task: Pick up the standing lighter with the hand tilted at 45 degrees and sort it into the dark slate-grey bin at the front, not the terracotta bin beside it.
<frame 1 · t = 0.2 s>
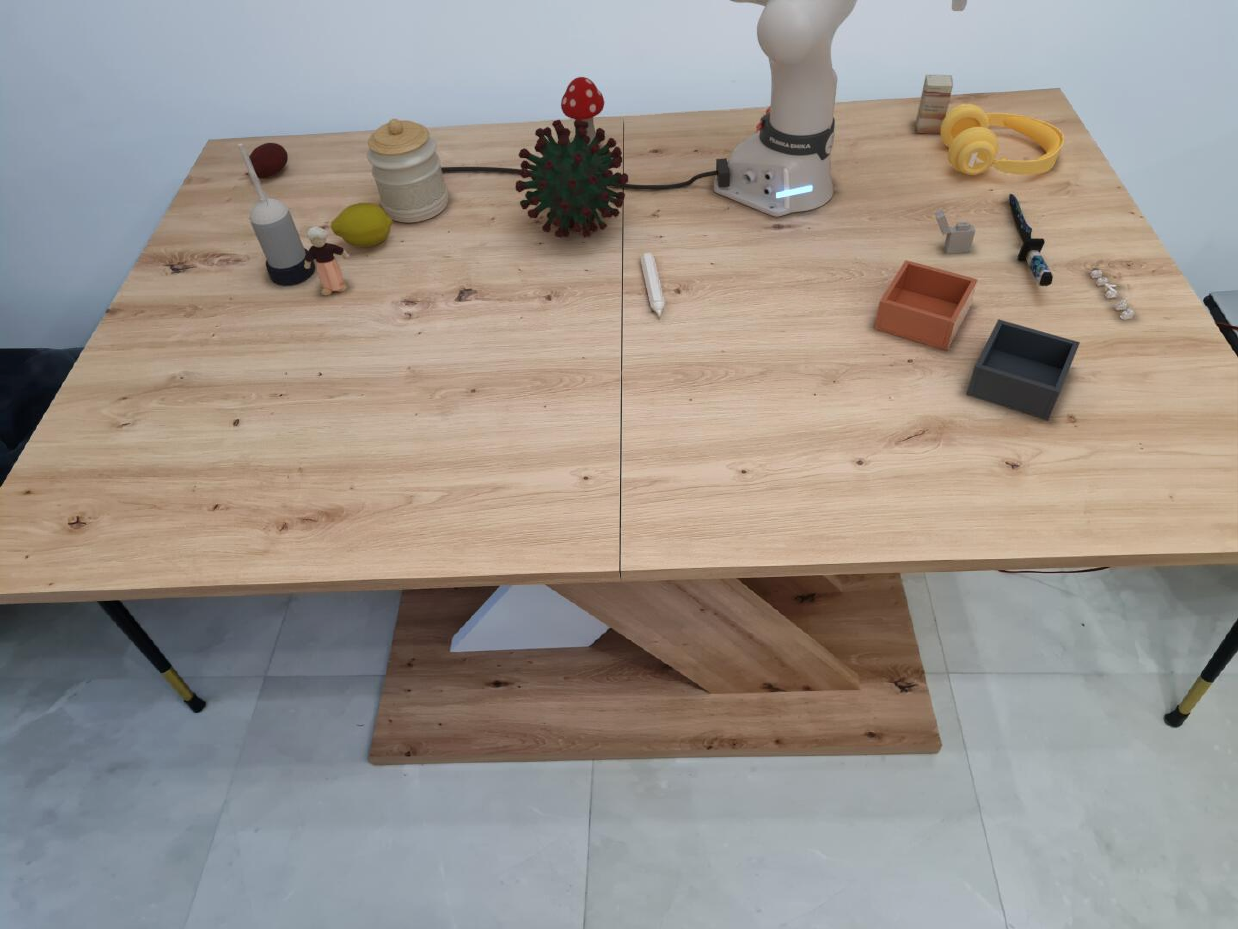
headset: (995, 159, 173), on the table
lighter: (947, 251, 155), on the table
beige brown box: (928, 129, 182), on the table
figurines set: (1113, 298, 144), on the table
jar: (416, 205, 176), on the table
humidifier: (293, 272, 164), on the table
decorative mushroom: (587, 151, 185), on the table
lemon: (369, 244, 168), on the table
grey bin: (1017, 382, 133), on the table
marker: (653, 292, 153), on the table
virus model: (577, 229, 167), on the table
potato: (272, 174, 188), on the table
knife: (1024, 249, 154), on the table
grandmother figurine: (337, 289, 160), on the table
terracotta bin: (922, 318, 144), on the table
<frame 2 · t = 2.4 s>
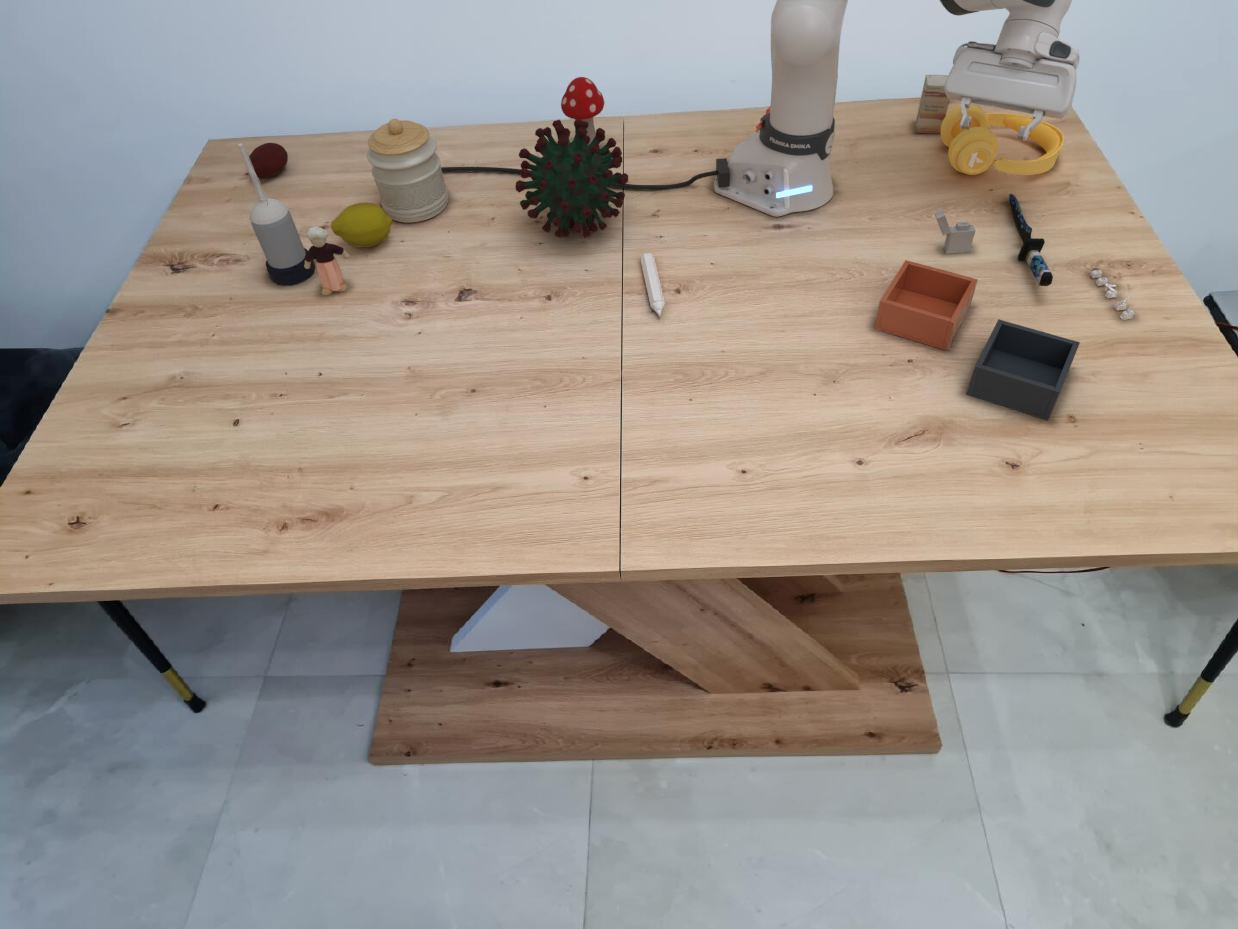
hand: (992, 133, 150), 15 cm above the table, tool tilted 45°, fingers open, 8 cm apart
nothing on the table moved.
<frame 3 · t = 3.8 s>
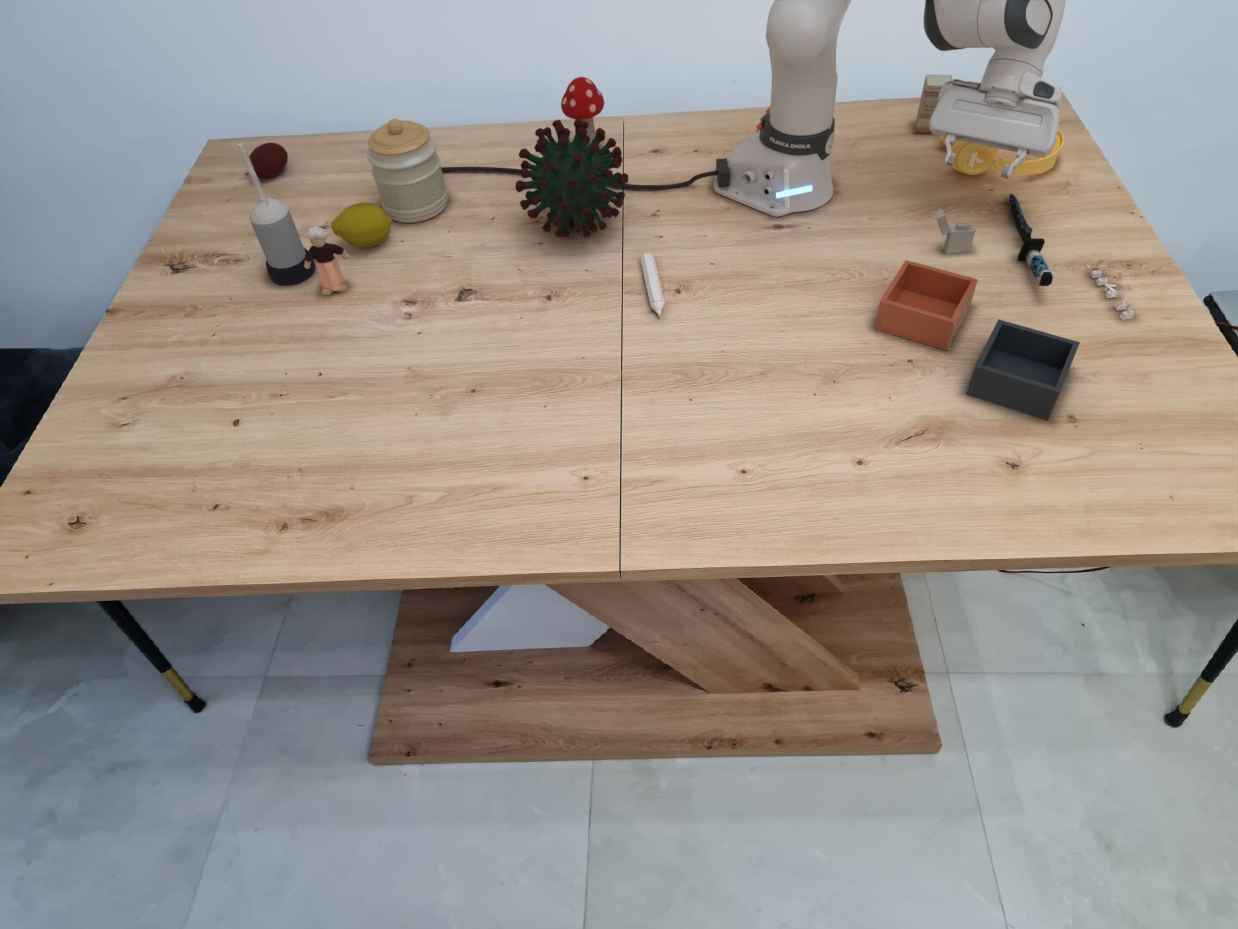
hand: (976, 170, 151), 11 cm above the table, tool tilted 45°, fingers open, 8 cm apart
nothing on the table moved.
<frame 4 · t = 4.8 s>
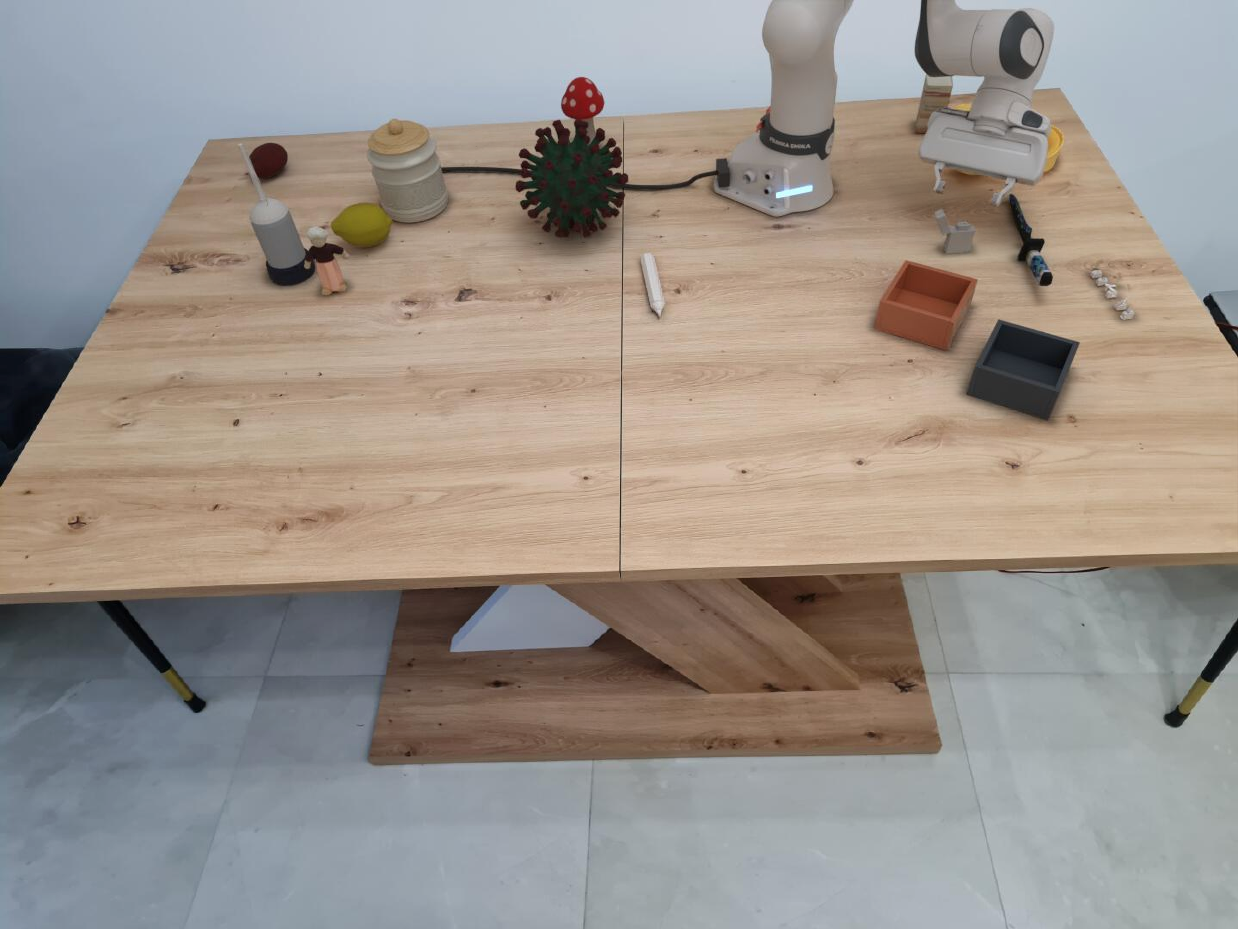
hand: (965, 198, 151), 8 cm above the table, tool tilted 45°, fingers open, 8 cm apart
nothing on the table moved.
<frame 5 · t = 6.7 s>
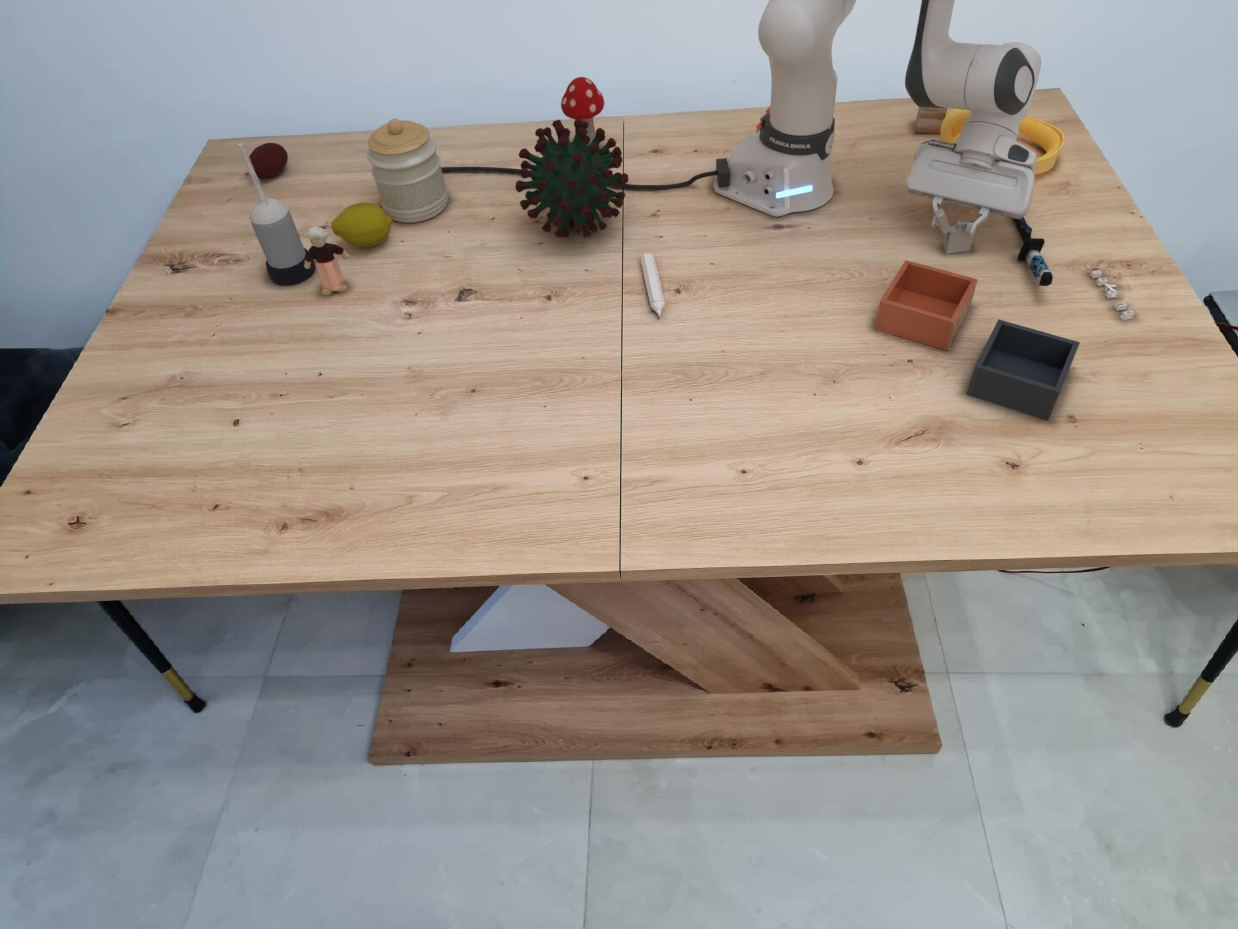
hand: (952, 230, 151), 4 cm above the table, tool tilted 45°, fingers closed on lighter, 4 cm apart
lighter: (947, 251, 155), on the table, touching gripper
everything else where it was.
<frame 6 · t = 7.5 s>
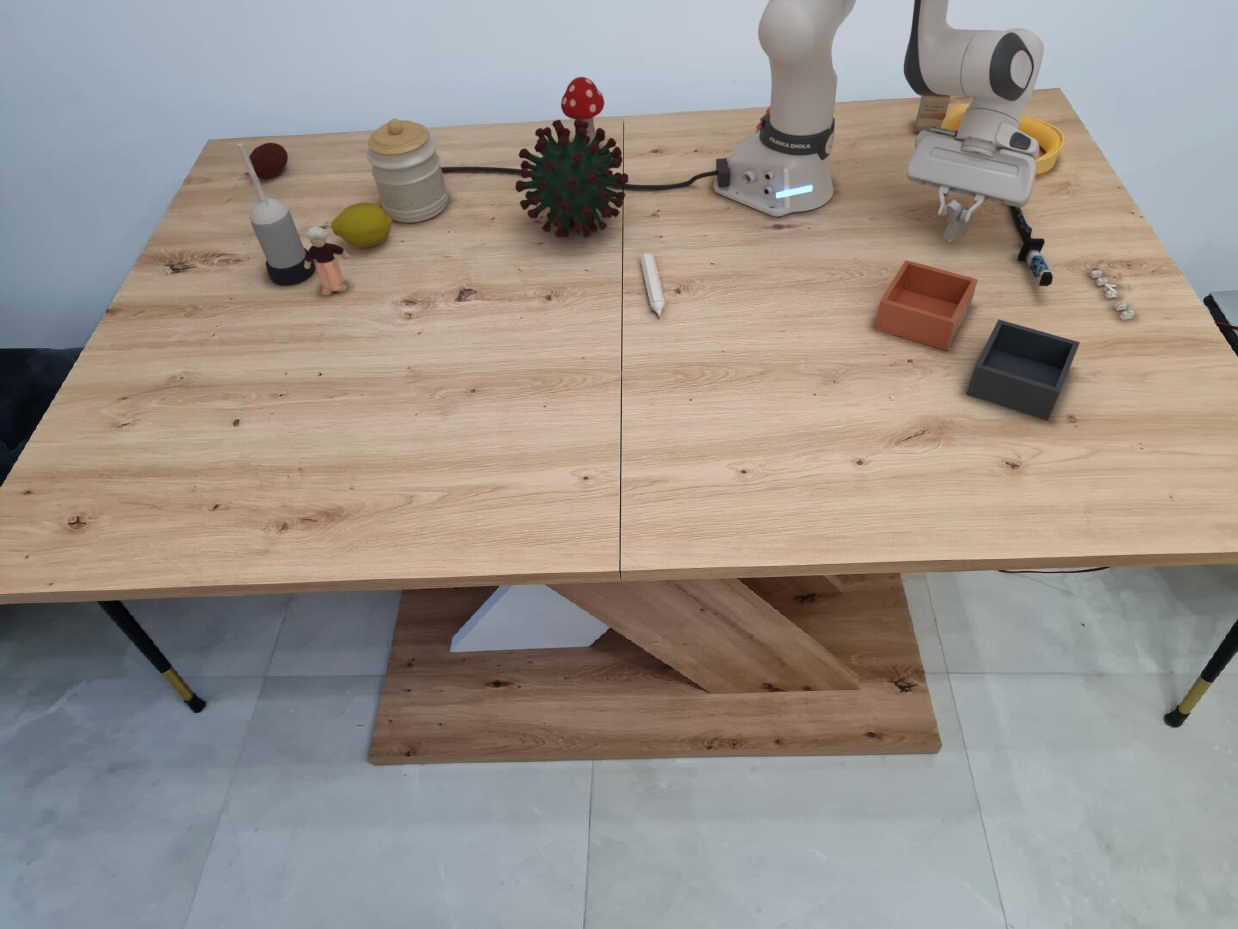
hand: (952, 219, 150), 7 cm above the table, tool tilted 45°, fingers closed on lighter, 2 cm apart
lighter: (947, 238, 155), point 2 cm above the table, touching gripper
everything else where it was.
when the fingers open (6 cm above the table, at t = 16.2 s): lighter stays where it is, resting on grey bin.
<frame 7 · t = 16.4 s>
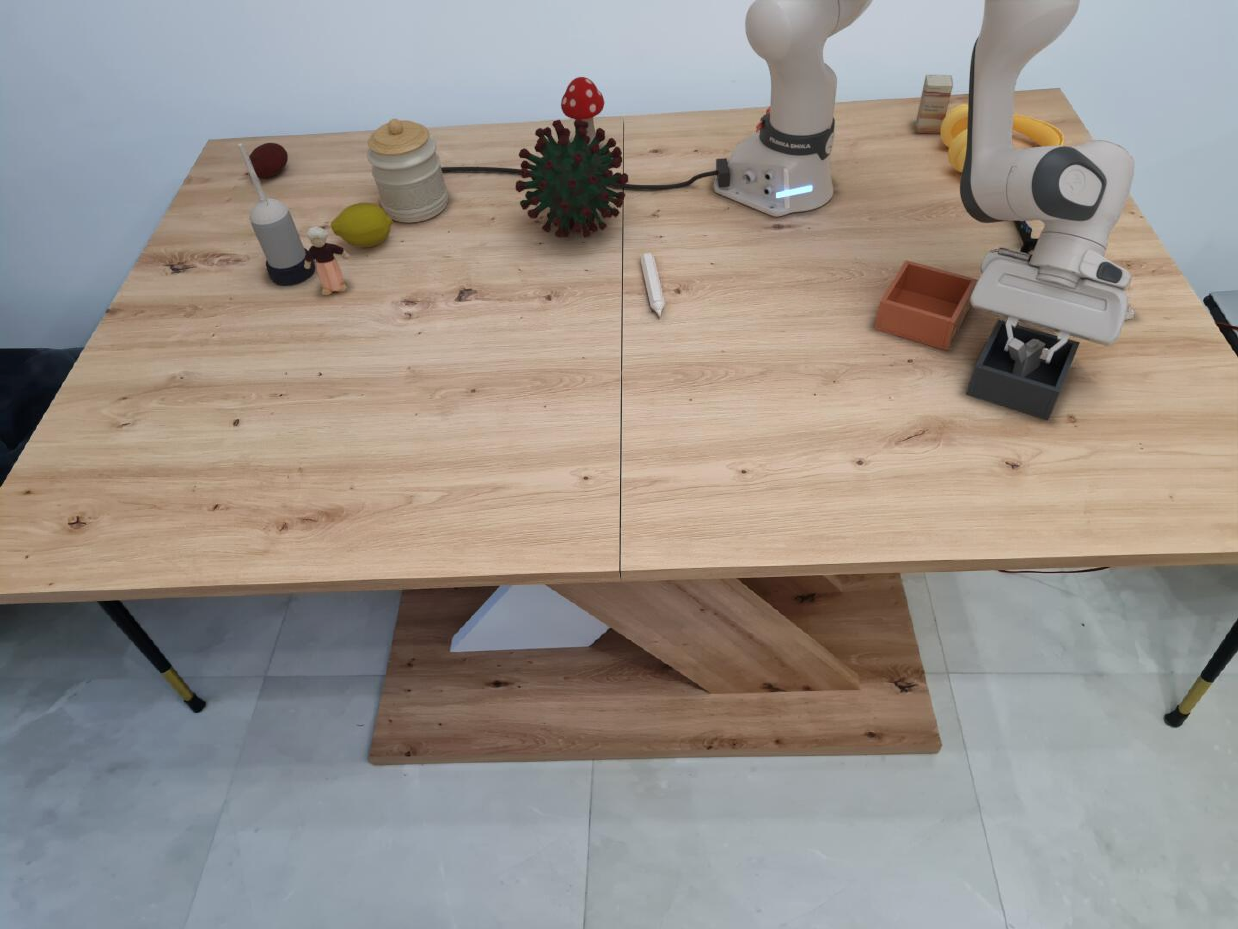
hand: (1026, 356, 128), 6 cm above the table, tool tilted 45°, fingers open, 3 cm apart
lighter: (1018, 375, 133), resting on grey bin, touching gripper
everything else where it was.
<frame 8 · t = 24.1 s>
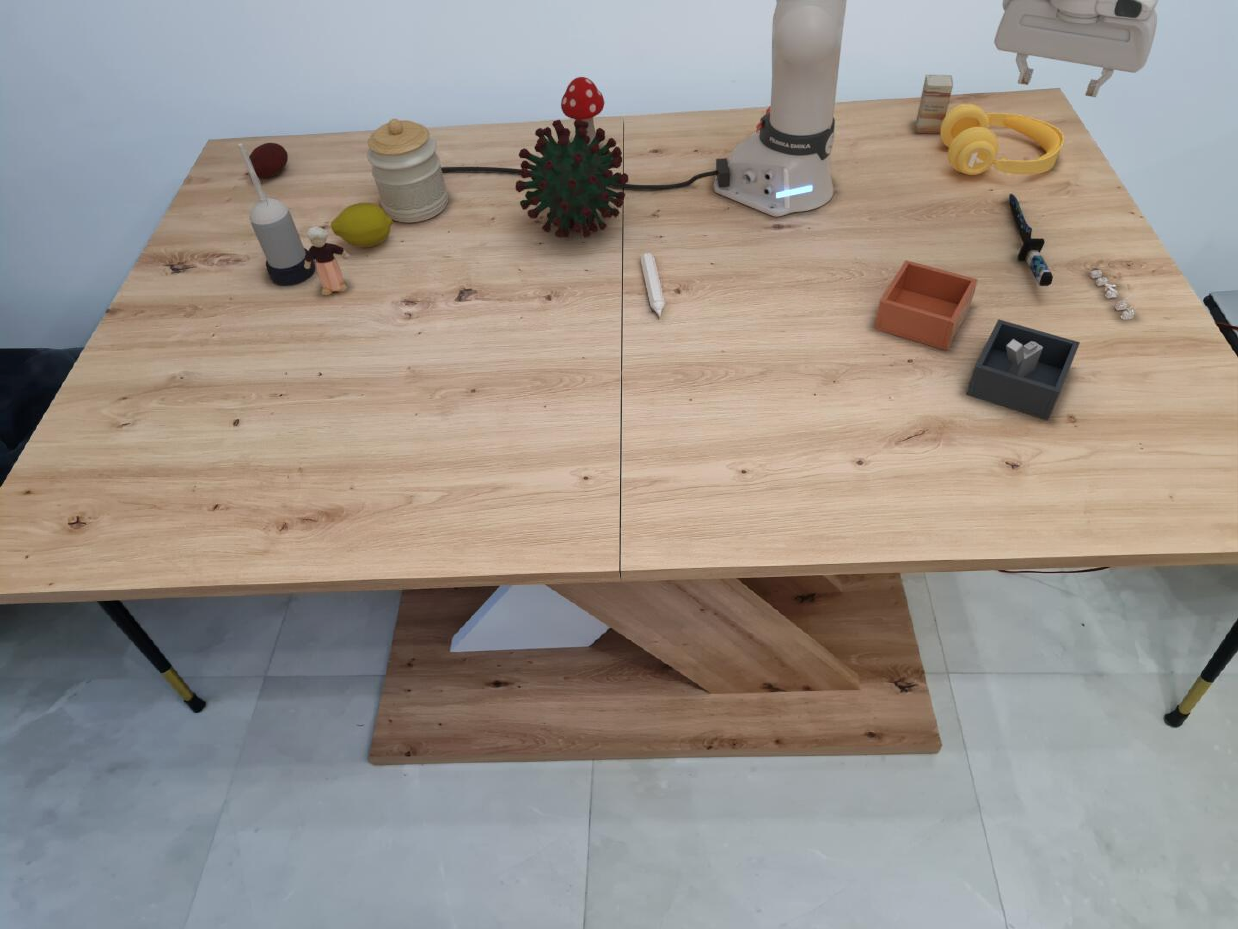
hand: (1057, 88, 131), 29 cm above the table, tool pointing down, fingers open, 8 cm apart
lighter: (1014, 377, 133), resting on grey bin
everything else where it was.
at the end: lighter inside the target area in the grey bin (0.8 cm from its centre), point 0.4 cm above the grey bin's base; lighter touching grey bin; the gripper is holding nothing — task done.
